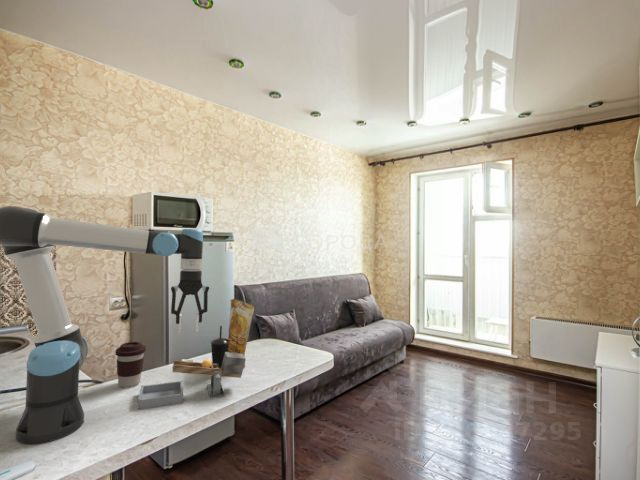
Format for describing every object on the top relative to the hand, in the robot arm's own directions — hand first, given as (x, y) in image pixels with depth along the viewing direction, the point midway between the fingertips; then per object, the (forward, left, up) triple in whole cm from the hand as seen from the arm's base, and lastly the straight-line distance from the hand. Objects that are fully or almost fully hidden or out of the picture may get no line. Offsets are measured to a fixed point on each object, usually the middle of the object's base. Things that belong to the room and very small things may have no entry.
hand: (188, 331), depth 124 cm
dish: (-8, -6, -21) cm, 23 cm away
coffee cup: (-20, +10, -21) cm, 30 cm away
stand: (+10, -6, -21) cm, 24 cm away
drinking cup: (+13, +8, -21) cm, 26 cm away
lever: (+7, -4, -14) cm, 16 cm away
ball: (+6, -6, -11) cm, 14 cm away
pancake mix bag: (+22, +18, -21) cm, 35 cm away
